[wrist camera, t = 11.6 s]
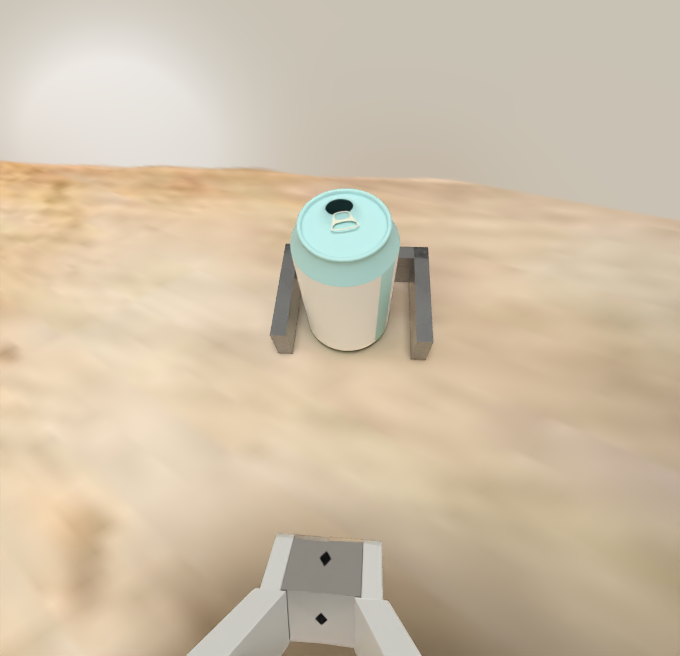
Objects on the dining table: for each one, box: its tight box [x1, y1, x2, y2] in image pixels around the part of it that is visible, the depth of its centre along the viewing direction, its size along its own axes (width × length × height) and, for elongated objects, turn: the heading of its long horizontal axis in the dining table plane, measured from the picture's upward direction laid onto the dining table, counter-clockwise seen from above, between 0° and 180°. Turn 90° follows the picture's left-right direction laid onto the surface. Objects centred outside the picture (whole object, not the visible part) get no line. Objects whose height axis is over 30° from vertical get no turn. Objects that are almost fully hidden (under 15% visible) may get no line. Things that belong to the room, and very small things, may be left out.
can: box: [290, 189, 400, 351], centre depth 27 cm, size 7×7×12 cm
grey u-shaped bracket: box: [270, 244, 433, 360], centre depth 31 cm, size 9×12×4 cm
